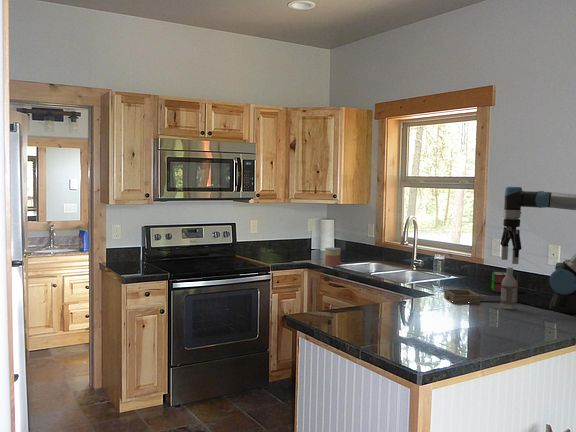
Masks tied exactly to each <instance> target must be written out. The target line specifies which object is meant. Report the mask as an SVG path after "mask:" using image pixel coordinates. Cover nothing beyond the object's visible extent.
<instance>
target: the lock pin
mask: <svg viewBox="0 0 576 432" xmlns="http://www.w3.org/2000/svg"><path fill="white" fill-rule="evenodd" d="M515 280H516V279H515ZM516 283H517V291H516V303H518V294H519V293H518V291H519V289H518V287H519V280H516ZM480 302H501V295H480Z"/></svg>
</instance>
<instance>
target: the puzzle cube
mask: <svg viewBox="0 0 576 432" xmlns="http://www.w3.org/2000/svg"><path fill="white" fill-rule="evenodd" d="M505 276H506V272H503V271H502V272H501V271H500V272H499V271H498V272H497V271H492V273H491V290H492V291H493V292H494V293H501V284H502V280H503V279H504V277H505ZM513 277H514V278H515V276H514V275H513Z"/></svg>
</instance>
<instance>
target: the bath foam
mask: <svg viewBox="0 0 576 432" xmlns="http://www.w3.org/2000/svg"><path fill="white" fill-rule="evenodd" d="M505 273H506V276H505V277H504V279H503V280H502V284H501V292H500V296H501V301H500V308H501V309H503V310H507V309H508V311H511V310H513V311H514V310H516V308H517V302H516V291H517V283H516V279H515V276H514V268H513V267H506V272H505ZM513 276H514V277H513ZM502 306H504V307H502ZM506 307H512V308H506ZM514 307H515V308H514Z"/></svg>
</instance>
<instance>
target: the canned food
mask: <svg viewBox="0 0 576 432" xmlns="http://www.w3.org/2000/svg"><path fill="white" fill-rule="evenodd" d="M324 251H325V252H324V265H325V266H328V267H339V266H341V251H342V250H341V248H340V247H325V248H324Z"/></svg>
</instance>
